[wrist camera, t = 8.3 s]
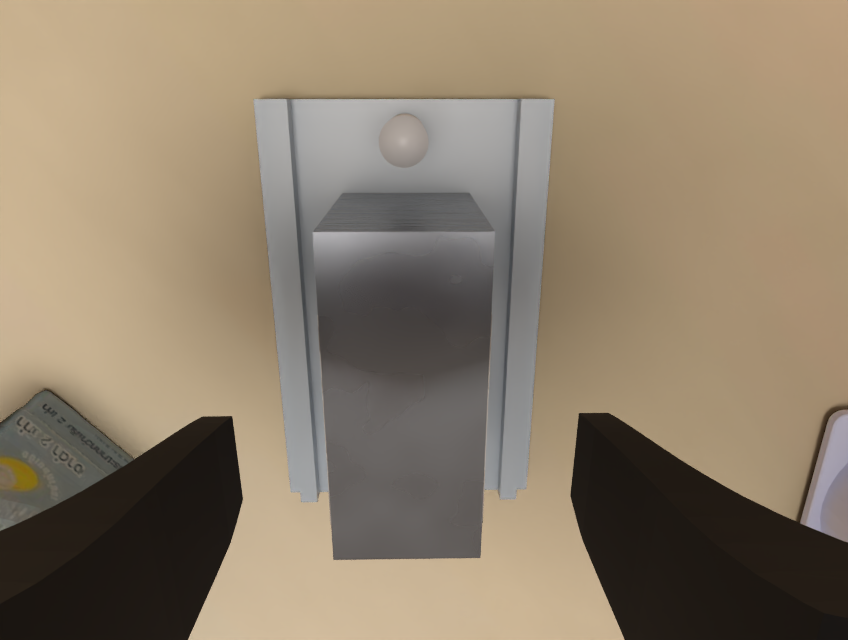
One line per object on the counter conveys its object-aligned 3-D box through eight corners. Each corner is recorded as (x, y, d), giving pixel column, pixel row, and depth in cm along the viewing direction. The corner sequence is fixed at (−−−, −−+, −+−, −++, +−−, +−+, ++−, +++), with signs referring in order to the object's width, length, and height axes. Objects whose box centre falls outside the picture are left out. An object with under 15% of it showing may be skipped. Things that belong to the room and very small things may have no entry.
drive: (471, 192, 18) (497, 231, 13) (463, 439, 22) (482, 557, 16) (341, 192, 18) (310, 232, 13) (352, 440, 22) (331, 559, 16)
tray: (548, 99, 18) (593, 97, 14) (522, 476, 23) (549, 566, 19) (259, 99, 18) (210, 97, 14) (294, 479, 23) (266, 571, 18)
